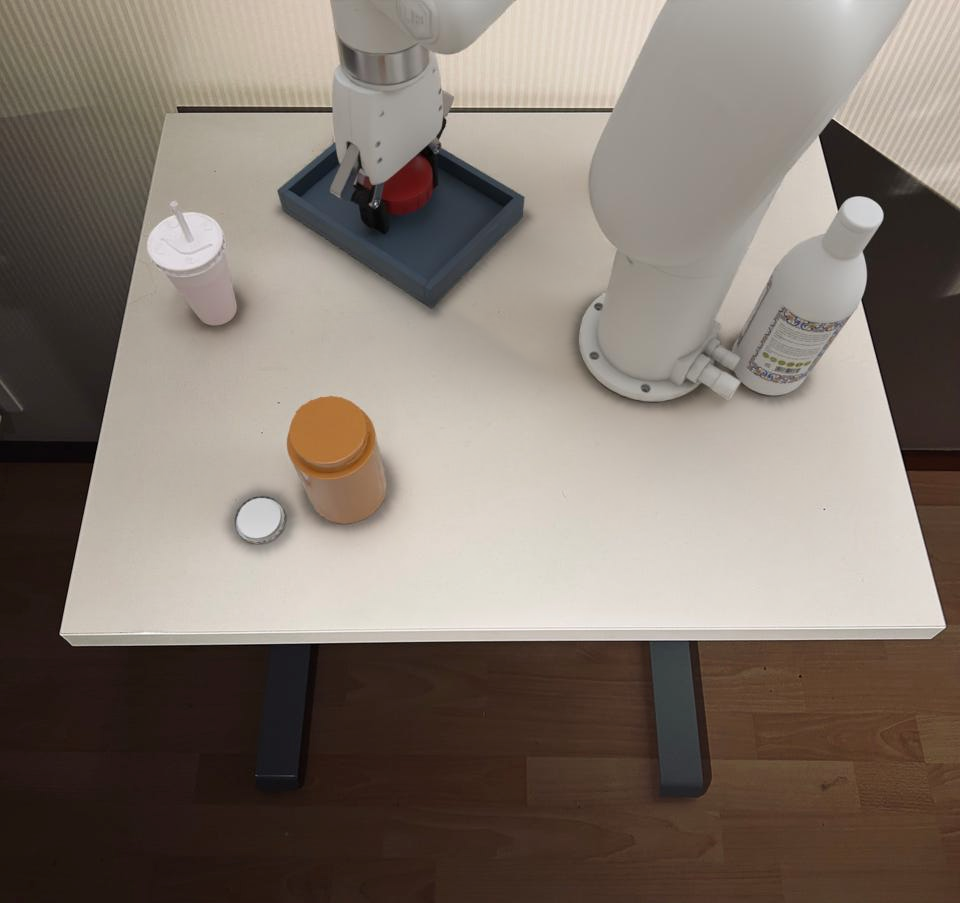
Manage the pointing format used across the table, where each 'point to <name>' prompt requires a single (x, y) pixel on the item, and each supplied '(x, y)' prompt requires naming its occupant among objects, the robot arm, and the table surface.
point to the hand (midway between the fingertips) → (400, 202)
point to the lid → (408, 186)
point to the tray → (411, 224)
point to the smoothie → (195, 263)
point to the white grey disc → (259, 519)
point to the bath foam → (807, 302)
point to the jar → (337, 459)
